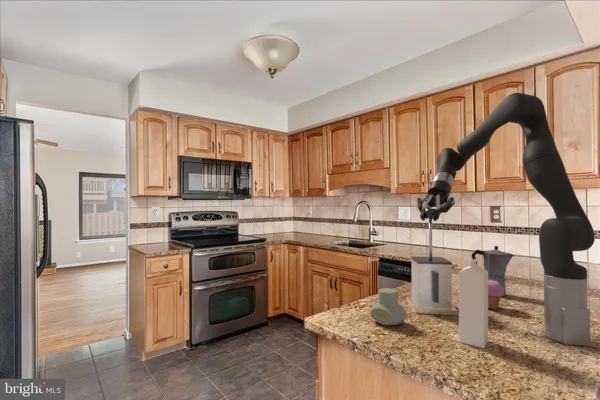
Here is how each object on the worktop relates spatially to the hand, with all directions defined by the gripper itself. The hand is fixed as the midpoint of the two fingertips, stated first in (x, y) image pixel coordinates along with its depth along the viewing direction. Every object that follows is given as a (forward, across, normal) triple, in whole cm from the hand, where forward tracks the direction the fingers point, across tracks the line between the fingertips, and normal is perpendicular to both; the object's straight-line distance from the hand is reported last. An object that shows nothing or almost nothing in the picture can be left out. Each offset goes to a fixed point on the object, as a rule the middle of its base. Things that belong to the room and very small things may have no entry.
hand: (428, 219), depth 113 cm
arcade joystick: (+21, 0, +24) cm, 32 cm away
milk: (+36, +20, +10) cm, 42 cm away
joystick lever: (+13, 0, +16) cm, 21 cm away
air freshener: (+38, -4, +7) cm, 39 cm away
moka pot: (-4, +11, +49) cm, 51 cm away
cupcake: (+11, +15, +34) cm, 39 cm away
